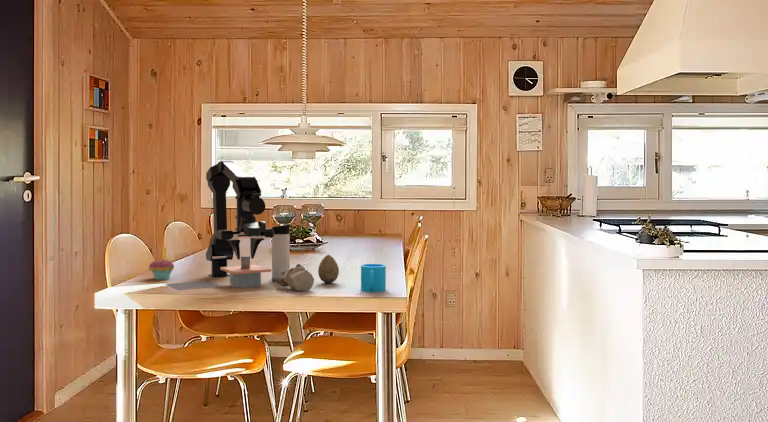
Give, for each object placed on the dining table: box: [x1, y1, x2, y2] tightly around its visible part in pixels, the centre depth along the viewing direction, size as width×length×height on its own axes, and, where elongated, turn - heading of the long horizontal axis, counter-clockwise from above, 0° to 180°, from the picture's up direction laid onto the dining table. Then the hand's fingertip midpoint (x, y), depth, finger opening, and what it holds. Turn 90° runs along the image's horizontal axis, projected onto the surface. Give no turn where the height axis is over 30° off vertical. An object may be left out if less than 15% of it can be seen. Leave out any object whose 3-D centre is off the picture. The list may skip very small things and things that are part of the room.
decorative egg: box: [317, 254, 340, 284], centre depth 247 cm, size 7×7×10 cm
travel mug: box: [271, 224, 291, 282], centre depth 253 cm, size 6×7×20 cm
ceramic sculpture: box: [276, 263, 315, 292], centre depth 235 cm, size 11×9×15 cm
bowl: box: [229, 272, 262, 289], centre depth 240 cm, size 10×10×5 cm
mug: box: [360, 263, 387, 293], centre depth 232 cm, size 12×8×8 cm
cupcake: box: [148, 247, 175, 280], centre depth 253 cm, size 9×8×12 cm
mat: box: [165, 279, 222, 291], centre depth 239 cm, size 15×15×1 cm
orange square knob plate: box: [220, 255, 272, 275], centre depth 239 cm, size 13×13×5 cm
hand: (245, 259), depth 239 cm, fingers open, 5 cm apart
